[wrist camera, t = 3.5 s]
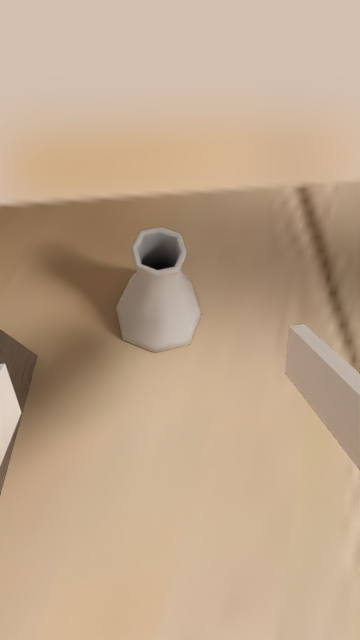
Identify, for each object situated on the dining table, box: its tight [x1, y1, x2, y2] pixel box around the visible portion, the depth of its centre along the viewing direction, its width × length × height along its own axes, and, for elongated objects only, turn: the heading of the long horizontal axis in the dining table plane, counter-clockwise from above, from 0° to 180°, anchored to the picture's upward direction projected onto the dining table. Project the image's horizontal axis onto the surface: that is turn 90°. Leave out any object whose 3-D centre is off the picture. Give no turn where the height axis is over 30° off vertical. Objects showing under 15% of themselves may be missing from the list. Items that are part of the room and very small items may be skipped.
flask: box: [116, 227, 202, 353], centre depth 24 cm, size 7×7×10 cm
